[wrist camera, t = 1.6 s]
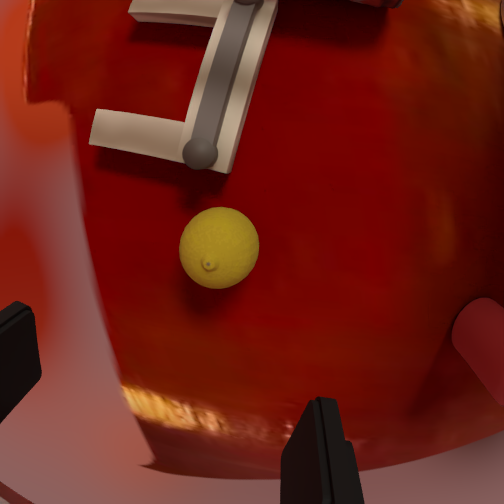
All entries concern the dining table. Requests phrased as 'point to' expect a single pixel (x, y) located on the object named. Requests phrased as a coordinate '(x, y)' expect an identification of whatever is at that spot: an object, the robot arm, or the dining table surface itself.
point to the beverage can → (380, 3)
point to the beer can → (482, 343)
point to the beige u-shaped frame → (199, 85)
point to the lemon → (219, 247)
